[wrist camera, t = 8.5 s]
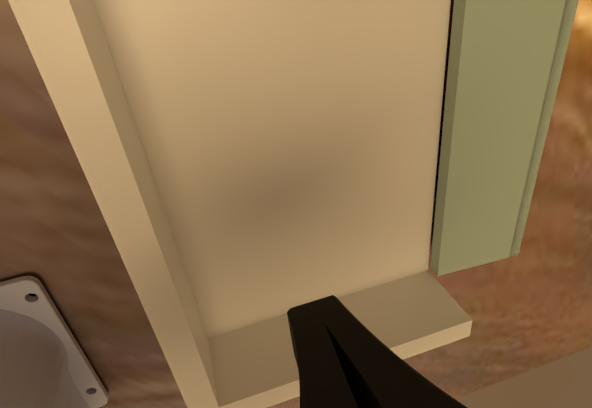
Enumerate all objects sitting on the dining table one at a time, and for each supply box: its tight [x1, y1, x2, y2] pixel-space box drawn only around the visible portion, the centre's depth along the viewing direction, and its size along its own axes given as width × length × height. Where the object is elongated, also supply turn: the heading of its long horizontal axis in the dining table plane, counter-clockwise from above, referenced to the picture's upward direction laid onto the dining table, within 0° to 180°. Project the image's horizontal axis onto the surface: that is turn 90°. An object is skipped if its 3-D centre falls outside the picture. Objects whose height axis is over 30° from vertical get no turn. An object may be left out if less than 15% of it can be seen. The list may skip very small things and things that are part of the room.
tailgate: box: [430, 0, 578, 276], centre depth 18 cm, size 19×1×5 cm
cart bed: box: [8, 0, 472, 408], centre depth 16 cm, size 22×14×6 cm, turn 6°
